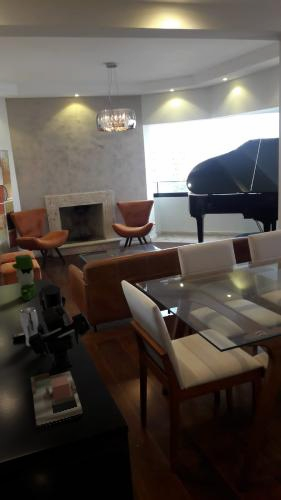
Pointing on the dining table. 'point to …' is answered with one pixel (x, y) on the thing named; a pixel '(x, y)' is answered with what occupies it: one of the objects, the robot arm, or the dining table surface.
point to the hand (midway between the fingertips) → (63, 350)
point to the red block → (60, 387)
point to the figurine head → (25, 276)
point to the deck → (52, 398)
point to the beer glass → (29, 322)
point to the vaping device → (41, 331)
